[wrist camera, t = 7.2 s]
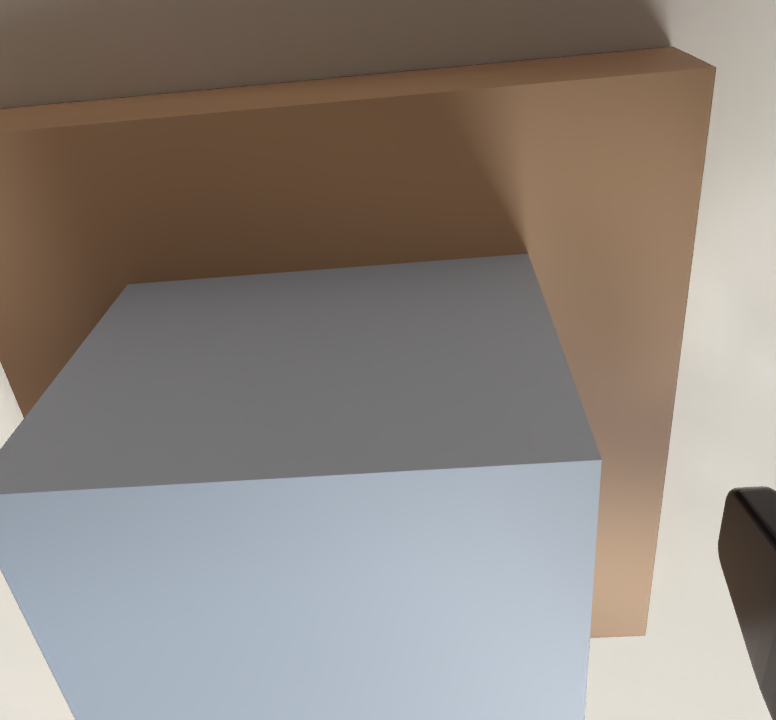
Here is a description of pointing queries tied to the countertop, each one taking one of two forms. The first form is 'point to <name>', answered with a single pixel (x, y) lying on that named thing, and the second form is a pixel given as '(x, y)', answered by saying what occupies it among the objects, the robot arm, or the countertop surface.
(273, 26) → the countertop surface
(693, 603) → the countertop surface
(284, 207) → the base plate
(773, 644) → the robot arm
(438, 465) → the slate brick
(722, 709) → the countertop surface
